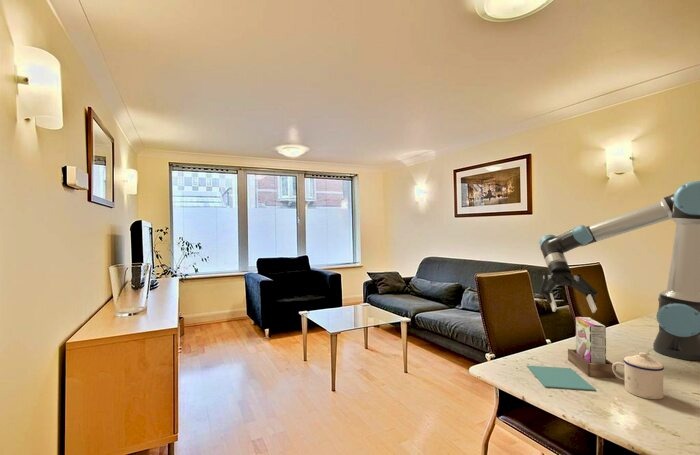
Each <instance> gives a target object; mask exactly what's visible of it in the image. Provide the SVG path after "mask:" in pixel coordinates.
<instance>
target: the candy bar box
mask: <svg viewBox="0 0 700 455" xmlns="http://www.w3.org/2000/svg"><path fill="white" fill-rule="evenodd" d="M606 328H607V326H606V325H604V324H602V323H601V322H599V321H596V320H595V319H593V318H592V317H588V316H586V317H585V316H576V317H575V346H576V347H575V349H576V354H578V355H579V356H580V357H582V358H583V359H584V360H586V361H587V362H588V363H596V364H606V359H607V339H606V338H607V334H606V330H607V329H606Z"/></svg>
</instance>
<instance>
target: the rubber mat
mask: <svg viewBox="0 0 700 455" xmlns="http://www.w3.org/2000/svg"><path fill="white" fill-rule="evenodd" d="M526 368H527V369H528V370H529V371H530V372H531V373H532V374H533V375H534V377H535V378H536V379H537V380H538V381H539V382H540V384H541V385H542V386H543V387H544V388H550V389H561V390H562V389H563V390H574V391H575V390H578V391H580V390H581V391H592V392H596V391H597V389H596V388H595V387H593V386H592V385H591V384H590V383H589V382H588V381H587V380H585V379H584V378H583V377H582V376H581V375H580V374H578V373H577V372H576V371H575V370H574V369H572V368H571V367H559V366H558V367H557V366H544V365H543V366H540V365H527V366H526Z"/></svg>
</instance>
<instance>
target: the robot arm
mask: <svg viewBox="0 0 700 455" xmlns="http://www.w3.org/2000/svg"><path fill="white" fill-rule="evenodd" d="M669 220H672V221H673V222H674V223H675V224H676V226H675V233H674V239H673V246H672V253H671V260H670V266H669V272H668V280H667V286H666V289H665V290H664V291H662V292H660V293H659V294H658V298H657V300H658V309H657V313H656V321H657V323H658V331H657V334H656V336H655V339H654V341H653V343H652V344H653V348H652V349H653V350H654V352H656V353H658V354H661V355H664V356H666V357H667V356H668V357H670V358H675V359H681V360H687V361H694V362H696V361H700V180H692V181H689V182H686V183H684V184H682V185H680V186H679V187H678V188H677V189H676V191H675V192H674V193H672V194H670V195H668V196H664V197H662V198H661V200H660V201H658V202H655V203H652V204H649V205H645V206H643V207H640V208H637V209H635V210H632V211H629V212H626V213H623V214H619V215H617V216H614V217H612V218H611V217H610V218H608V219H606V220H602V221H600V222H596V223H594V224H591V225H588V226H585V225H584V224H580V225H578V226H575V227H573V228H572V229H570V230H568V231H565V232H564V233H561V234H559V235H557V236H556V235H554V234H547V235H543V236H542V237H541V238H540V239H539V242H538V244H539V248H540V251H541V253H542V256H543V259H544V262H545V264H546V267H547V269H548V273H549V274H548V273H546V272H545V273H544V274H543V276H542V280H543V281H542V284H541V287H540V290H539V293H538V295H540V296H542V295H543V297H544V298H545V299H546V302H547V304H550V307H551V311H552V312H554V313H555V312H556V311H557V309H558V307H557V303H556V301H555V297H554V295H553V293H552V292H553V290H554V289H555V288H556V287H557V285H558V286H559V287H561V286H562V287H563V286H565V287H571V288H573V289H575V290H576V291H578V292H579V293H581V294H582V295H583V296H585V297H586V301H587V303H588V306H589V309H590V310H591V314H595V313H596V311H597V310H598V308H597V306H596V303H597V301H596V296H597V295H598V294H599V293H598V292H599V291H598V290H597V289H595V288H594V287H593V286H592V285H591V284H590V283H588V281H586V279H585V278H583V276H582V274H580V273H577V275H573V273H572V272H571V271H572V270H571V268H570V266H569V264H568V260H567V259H566V256H565V253H567V252H569V251H572V250H574V249H576V248H579V247H585V246H589V245H591V244H594V243H596V242H600V241H604V240H607V239H610V238H613V237H616V236H620V235H622V234H626V233H629V232H633V231H636V230H639V229H642V228H646V227H649V226H652V225H657V224H659V223H662V222H665V221H669ZM549 280H551V281H552V282H551V284H550V286H549V287H548V288H547V290H545V289H546V287H547V283H548V281H549Z"/></svg>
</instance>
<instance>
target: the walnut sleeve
mask: <svg viewBox="0 0 700 455" xmlns="http://www.w3.org/2000/svg"><path fill="white" fill-rule="evenodd" d="M567 361H568V362H570V363H571V364H572V365H573V366H575V367H576V368H577V369H579V370H580V371H581V372H582V373H583V374H584V375H586V376H587V377H595V378H597V377H598V378H609V379H610V378H611V379H616V378H617V376H616V375H615V374H614V373H613V370H612V365H613V364H614V362H611V361H610V360H608V359H607V358H606V364H596V363H588V362H587V361H586V360H584V359H583V358H582V357H580V356H579V355H578V354H576V348H573V349H572V348H568V349H567ZM616 366H617V365H616ZM616 366H615V369H616V370H617V367H616Z"/></svg>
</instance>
